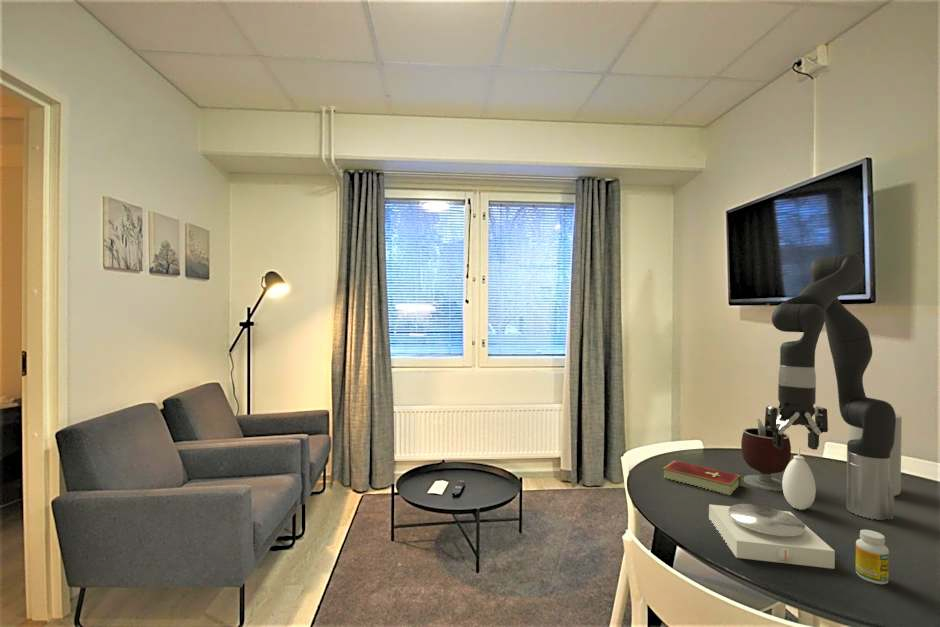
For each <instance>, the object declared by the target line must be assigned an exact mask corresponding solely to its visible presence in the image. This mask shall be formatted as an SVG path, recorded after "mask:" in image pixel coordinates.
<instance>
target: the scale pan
mask: <svg viewBox="0 0 940 627" xmlns="http://www.w3.org/2000/svg"><path fill="white" fill-rule="evenodd" d="M730 506H731V507H730V508H729V516H730V518H731V519H732V520H734V521H735V522H736V523H738V524H740V525H741V526H744V527H746V528H748V529H751V530H753V531H756V532H760V533H763V534H768V535H773V536H780V537H796V536H800V535H803V534H804V533H805V525H806V524H805V525H804V522H802V520H801V519H799V518H798V517H797V516H796V515H794V514H793V515H794V516H793V515H791V514H789V513H786V512H784V511H785V510H781V509H777V508H775V507H770V506H766V505H761V504H753V503H739V504H733V505H730ZM795 516H796V517H797V518H796V517H795Z"/></svg>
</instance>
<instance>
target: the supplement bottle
mask: <svg viewBox="0 0 940 627" xmlns="http://www.w3.org/2000/svg"><path fill="white" fill-rule="evenodd" d="M885 543H886V537H885V535H884V534H882V533H880V532H878V531H875V530H871V529H870V530H869V529H861V530H859V538H858V539H857V540H856V541H855V573H856V574H857V576H858V577H860V579H863V580H864V581H866V582H869V583H873V584H876V585H885V584H886V585H887V584H888V583H889V577H890V576H889V574H890V573H889V572H890V565H889V564H890V550H889V548H888V547H887V546H886V545H885Z"/></svg>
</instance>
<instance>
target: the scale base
mask: <svg viewBox="0 0 940 627" xmlns="http://www.w3.org/2000/svg"><path fill="white" fill-rule="evenodd" d="M708 505H709V506H708V520H709V521H710V520H711V521H712V522H711V521H710V522H711V524H712V523H713V524H714V525H713V524H712V525H713V527H714V526H715V527H716V528H715V527H714V528H715V529H716V530H718V531H719V532H718V531H717V532H718V534H719V533H720V534H721V535H720V534H719V535H720V537H721V538H722V537H723V538H722V539H723V541H724V540H725V541H724V542H725V543H727V544H726V545H727V546H728V548H729V549H730V551H731V552H732V554H733V555H734V556H735V558H737V559H745V560H753V561H764V562H771V563H780V564H781V563H782V564H789V565H799V566H807V567H813V568H814V567H817V568H824V569H834V570H835V563H836V561H835V560H836V558H835V557H836V552H835V550H834V549H833V548H832V547H831V546H830V545H829V544H828V543H826V542H825V540H823V539H822V538H820V537H819V536H818V534H816V533H815V532H814V531H813V530H812V529H810V528H809V527H808V526H807V525H806V524H804V525H805V533H804V534H803V535H800V536H796V537H780V536H773V535H768V534H763V533H760V532H756V531H753V530H751V529H748V528H746V527H744V526H741V525H740V524H738V523H736V522H735V521H734V520H732V519H731V518H730V516H729V508H730V507H731V506H732V505H720V504H718V505H717V504H710V503H709V504H708ZM783 511H784V512H786V513H789V514H791V515H793V516H795V517H796V518H798V517H797V516H796V515H794V514H793V513H792V512H791V511H785V510H783Z"/></svg>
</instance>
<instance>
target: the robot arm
mask: <svg viewBox="0 0 940 627" xmlns="http://www.w3.org/2000/svg"><path fill="white" fill-rule="evenodd" d="M810 274H811V277H812V278H811V279H812V281H813V282H812V283H810V284H808V285H807V286H806V287H804V288H803V289H802V290H801V291H800V292H799V293H798V294H797V295H796V296H793V297H791V298H789V299H787V300H785V301H783V302H781V303H780V304H778V305H777V306H776V307H775V308H774V310H773V312H772V314H771V322H772V325H773V327H774V328H775V329H777V330H778V331H781V332H783V333H803V334H802V336H801V337H800V339H798V340H793V341H785V342H783V343H781V345H780V348H779V353H780V354H779V370H778V385H777V387H778V389H777V391H778V392H777V399H778V401H779V405H778V407H776V406H771V405H767V406H766V407H765V416H764V428H765V429H767V430H769V431H772V432H773V445H774V446H775V448H777V449H783V441H784V435H782V434H783V433H785V431H786V430H787V429H789V428H790V427H792V426H798V425H800V426H804V427H805V428H806V429H807V431H808V432H807V447H808V449H810V450H818V448H819V447H820V446H819V445H820V435H821V434H823V433H827V432H828V431H829V427H828V426H829V425H828V423H829V422H828V409H827V408H825V407H821V406H817V405H816V406H814V405H815V404H816V393H817V392H816V389H817V388H816V387H817V382H816V381H817V376H816V368H815V366H816V364H815V363H816V348H817V344H818V340H819V338H820V335H821V333H822V330H823V327H824V326H825V329H826V335H827V336H826V337H827V341H828V345H829V351H830V353H831V359H832V361H833V368H834V372H835V377H836V385H837V393H838V394H837V396H838V407H839V412H840V416H841V418H842V420H843V421H844V422H845V423H846V424H847V425H848V426H850V425H851V426H854V427H858V428H861V429H863V433H862V437H861V439H854V440H848V441H847V444H846V510H847V511H848V512H849V513H852V514H853V513H854V515H855V516H858V515H859V517H861V516H862V517H861V518H865V517H866V518H865V519H869V518H870V519H869V520H874V519H876V521H886V520H885V519H888V518H893V519H894V518H895V517H894V514H895V513H894V509H895V508H894V505H895V500H894V498H895V496H894V486H893V485H892V484H890V452H891V450H892V448H893V445H894V437H895V426H896V415H895V414H896V411H895V409H894V407H893V405H892V404H891V403H889V402H888V401H885V400H882V399H881V400H880V399H876V398H872V397H867V395H866V392H865V388H864V383H863V382H864V380H863V379H864V378H863V377H864V375H865V372H866V369H867V368H868V366H869V364H870V362H871V359H872V357H873V347H872V342H871V337H870V333H869V329H868V327H867V326H866V325H865V324H864V322H862V321H861V320H860V319H859V318H857V316H855V315H854V314H853V313H851V311H849V310H848V309H847V308H846V307H845V306H844V305H843V304H842V303H841V301H840V299H839V297H840V296H842V295H844V294H845V293H846V292H848V291H849V290H851V289H852V288H853V287H855V286H857V285H859V283H861V282H862V280H863V279H864V276H865V265H864V263H863V260H862V257H860V256H859V255H858V254H856V253H849V252H848V253H841V254H836V255H831V256H824V257H820V258H816V259H814V260H813V261H812V263H811V265H810ZM813 416H814V417H815V418H814V419H813ZM888 520H889V519H888Z"/></svg>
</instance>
